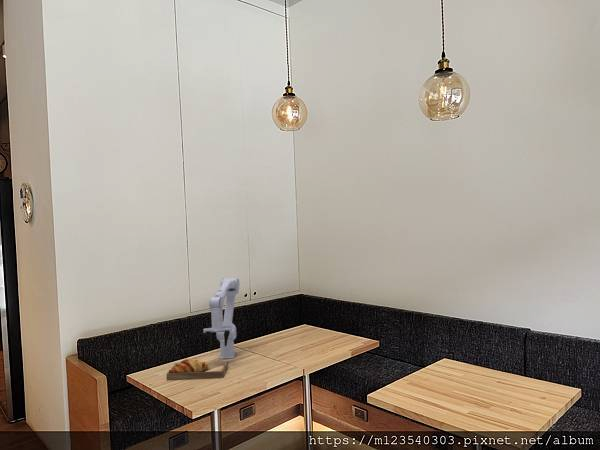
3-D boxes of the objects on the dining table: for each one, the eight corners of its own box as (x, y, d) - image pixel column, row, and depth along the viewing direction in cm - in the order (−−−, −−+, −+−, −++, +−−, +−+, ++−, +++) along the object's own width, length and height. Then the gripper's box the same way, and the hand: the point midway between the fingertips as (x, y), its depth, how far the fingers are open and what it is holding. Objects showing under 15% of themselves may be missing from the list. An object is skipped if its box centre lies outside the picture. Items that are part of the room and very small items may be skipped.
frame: (176, 369, 227) (175, 363, 227) (228, 366, 227) (228, 361, 227) (166, 380, 212) (166, 374, 212) (222, 377, 212) (222, 371, 212)
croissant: (206, 373, 228) (204, 358, 231) (215, 369, 221) (212, 353, 224) (166, 381, 215) (164, 364, 218) (174, 376, 208) (172, 359, 211)
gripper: (201, 322, 228) (202, 348, 228) (229, 321, 227) (230, 347, 227) (204, 319, 235) (206, 344, 235) (232, 318, 234) (233, 343, 234)
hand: (218, 345), depth 231 cm, fingers open, 7 cm apart
